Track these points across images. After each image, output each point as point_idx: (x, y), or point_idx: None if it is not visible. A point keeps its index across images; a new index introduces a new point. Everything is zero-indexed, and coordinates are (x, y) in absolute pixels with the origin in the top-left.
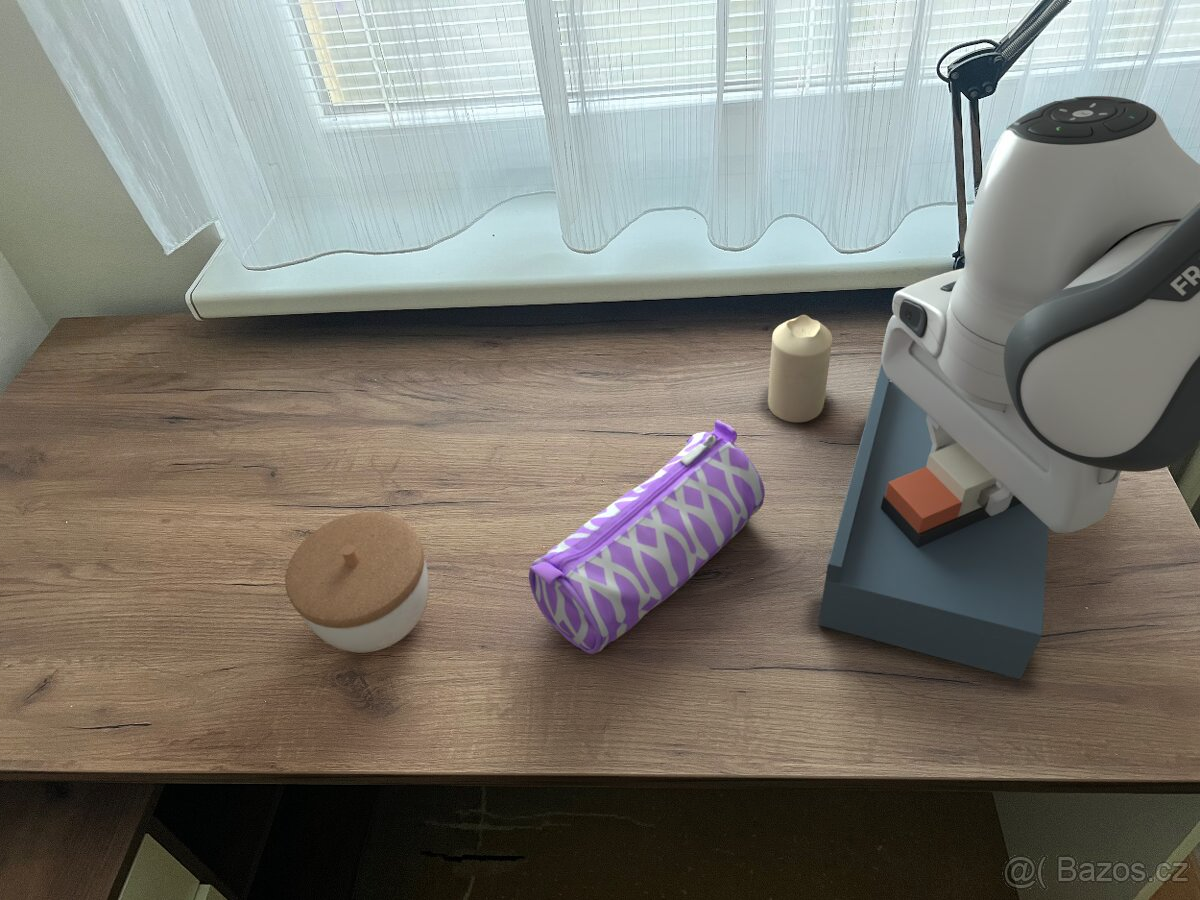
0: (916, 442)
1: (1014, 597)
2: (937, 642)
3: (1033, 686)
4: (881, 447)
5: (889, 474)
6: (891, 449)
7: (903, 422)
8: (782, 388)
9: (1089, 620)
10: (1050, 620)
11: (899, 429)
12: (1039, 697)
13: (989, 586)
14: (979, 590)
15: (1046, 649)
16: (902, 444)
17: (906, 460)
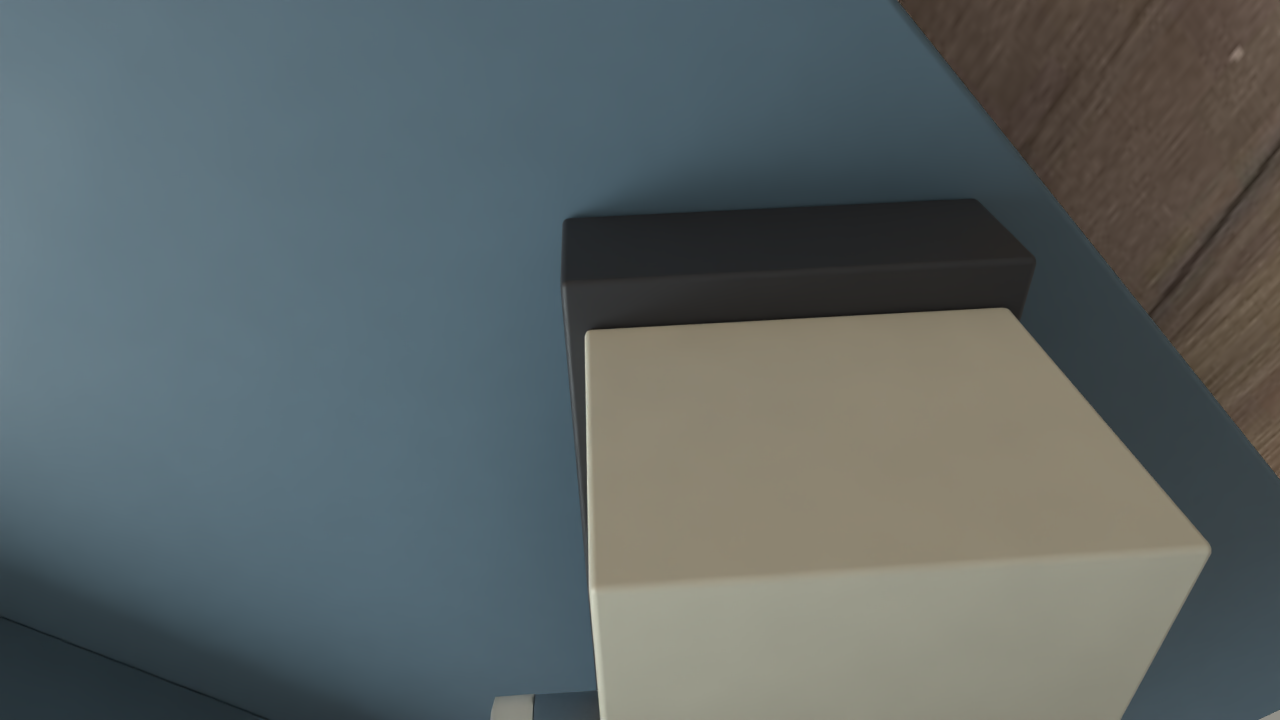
0: (255, 556)
1: (1249, 644)
2: None
3: (1243, 414)
4: (254, 686)
5: (446, 718)
6: (279, 657)
7: (55, 541)
8: None
9: (1275, 89)
10: (1158, 224)
11: (122, 582)
12: (1274, 420)
13: (1148, 683)
14: (1128, 707)
15: (1209, 309)
16: (253, 610)
17: (382, 642)
